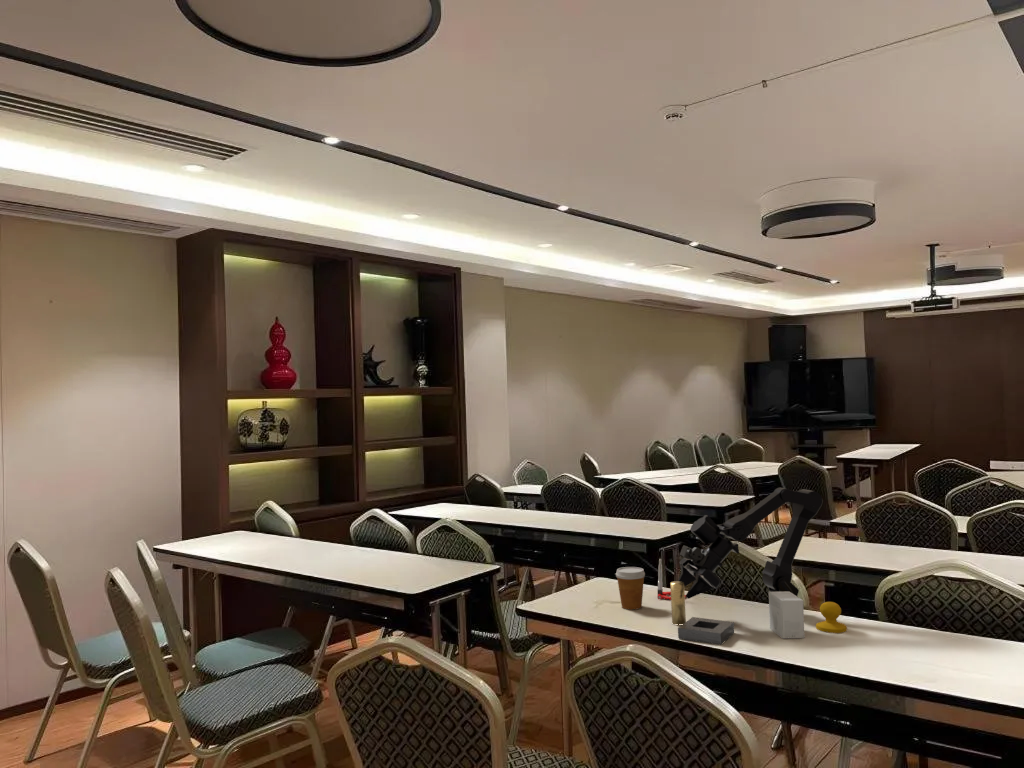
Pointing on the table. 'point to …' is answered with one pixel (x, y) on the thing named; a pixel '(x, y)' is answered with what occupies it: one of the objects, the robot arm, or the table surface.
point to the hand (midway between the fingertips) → (681, 593)
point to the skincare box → (786, 614)
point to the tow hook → (660, 591)
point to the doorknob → (831, 619)
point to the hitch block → (706, 630)
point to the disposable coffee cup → (630, 586)
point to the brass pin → (678, 602)
